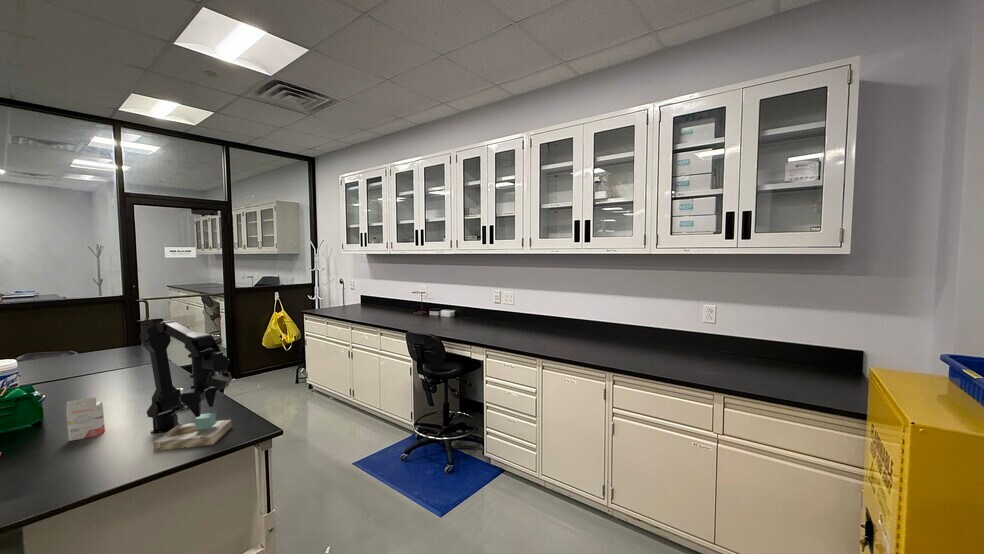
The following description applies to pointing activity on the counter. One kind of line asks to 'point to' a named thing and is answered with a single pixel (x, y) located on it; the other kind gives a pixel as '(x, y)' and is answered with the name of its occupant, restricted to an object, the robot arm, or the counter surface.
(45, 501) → the counter surface
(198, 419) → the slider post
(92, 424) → the ink cartridge box
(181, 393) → the valve
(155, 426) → the robot arm
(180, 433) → the keyhole board
